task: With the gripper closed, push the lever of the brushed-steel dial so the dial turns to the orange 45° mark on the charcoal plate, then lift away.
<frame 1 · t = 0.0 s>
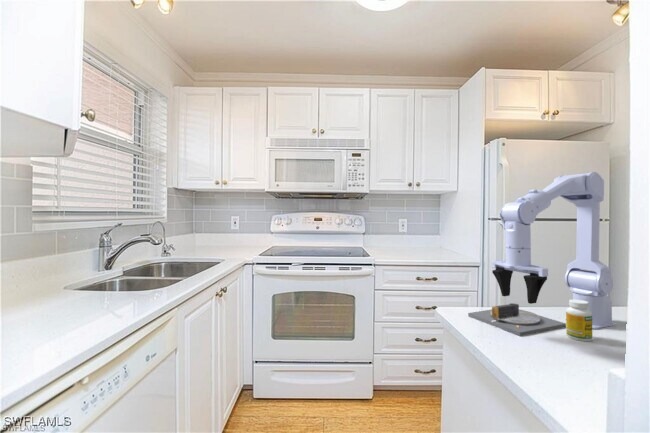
hand: (518, 299, 84), 10 cm above the counter, fingers open, 7 cm apart
dial: (512, 311, 96), point 3 cm above the counter, hinge at 0.0°
supplement bottle: (579, 338, 83), on the counter
dial plate: (514, 321, 96), on the counter
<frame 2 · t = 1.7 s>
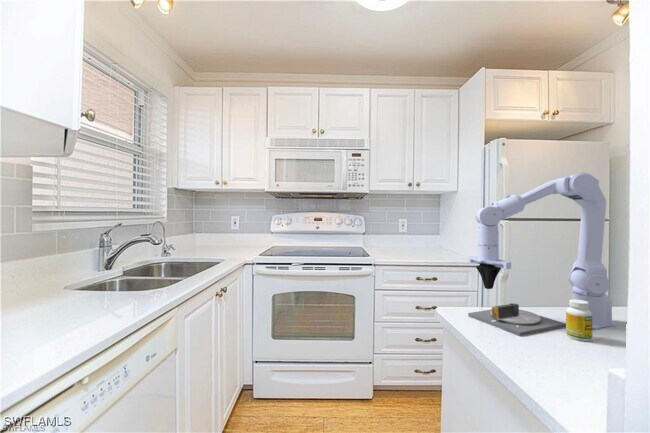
hand: (488, 288, 100), 9 cm above the counter, fingers closed
nothing on the counter moved.
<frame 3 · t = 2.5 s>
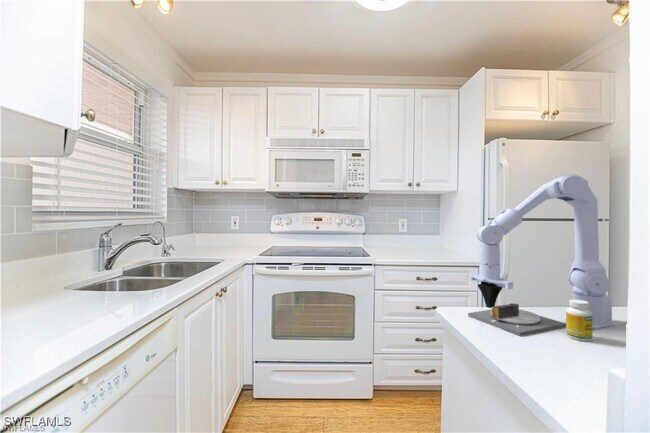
hand: (490, 307, 99), 3 cm above the counter, fingers closed
nothing on the counter moved.
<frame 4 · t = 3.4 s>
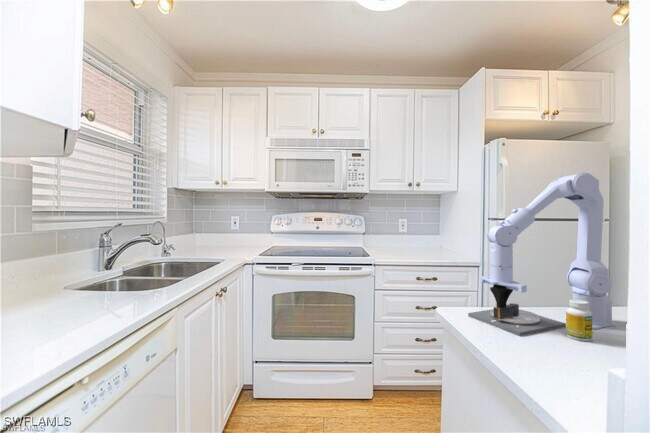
hand: (501, 310, 95), 3 cm above the counter, fingers closed, pressing on dial
dial: (512, 311, 96), point 3 cm above the counter, hinge at 4.0°, touching gripper
everything else where it was.
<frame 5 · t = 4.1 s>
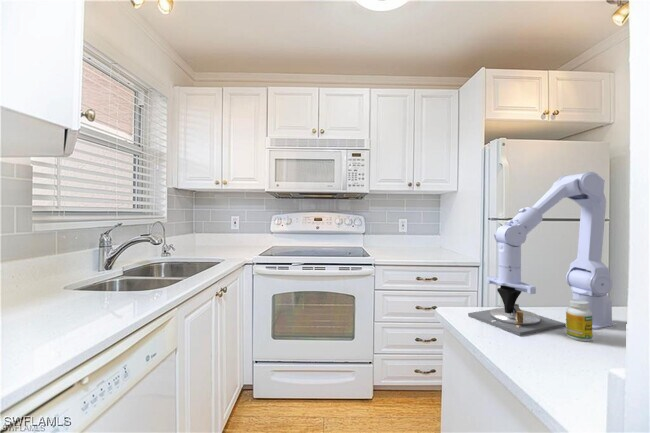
hand: (509, 312, 93), 4 cm above the counter, fingers closed, pressing on dial
dial: (514, 311, 95), point 3 cm above the counter, hinge at 49.3°, touching gripper
everything else where it was.
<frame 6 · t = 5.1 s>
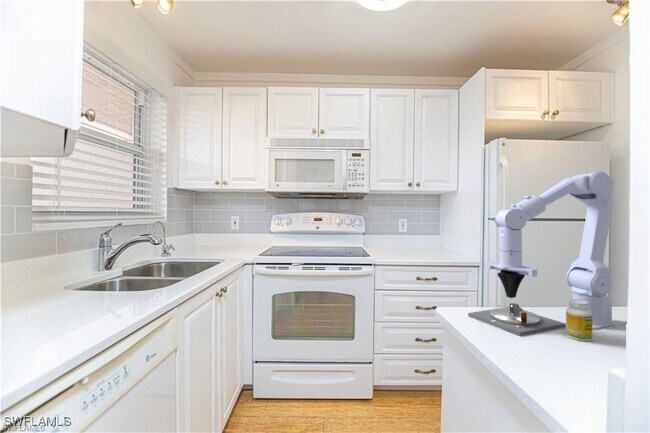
hand: (511, 297, 92), 8 cm above the counter, fingers closed
dial: (515, 311, 95), point 3 cm above the counter, hinge at 55.7°
everything else where it was.
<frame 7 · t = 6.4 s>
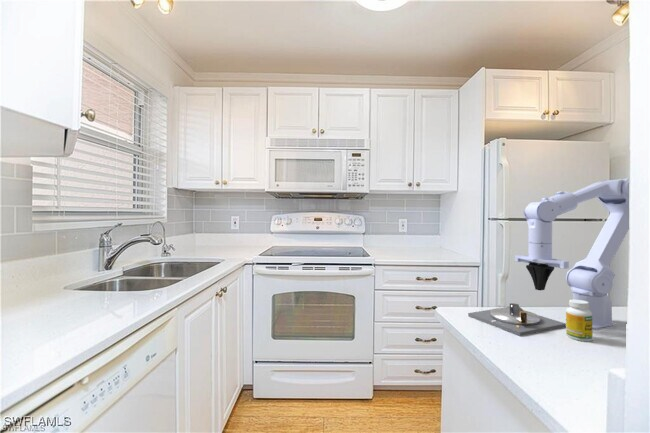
hand: (539, 289, 92), 10 cm above the counter, fingers closed
nothing on the counter moved.
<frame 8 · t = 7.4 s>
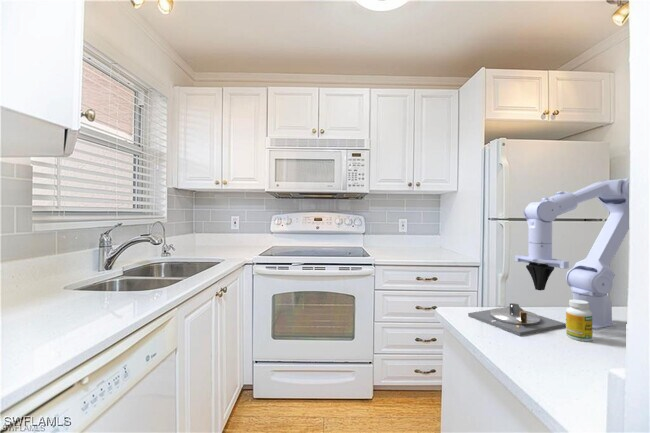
hand: (539, 289, 92), 10 cm above the counter, fingers closed
nothing on the counter moved.
at the end: dial at +56° (first picture: +0°); supplement bottle moved 0.2 cm from its start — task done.
